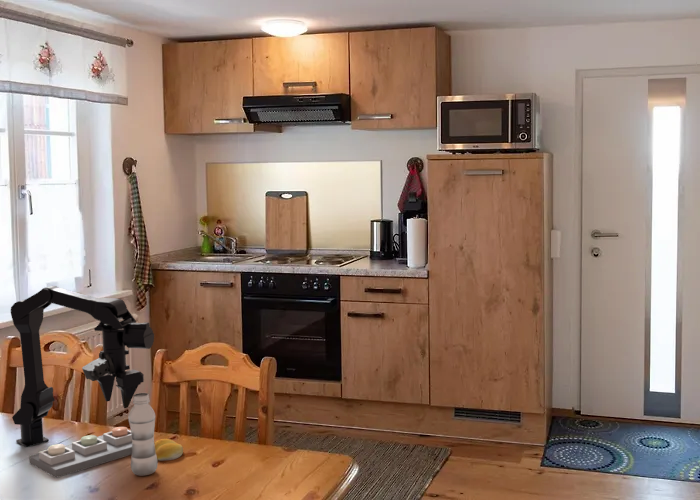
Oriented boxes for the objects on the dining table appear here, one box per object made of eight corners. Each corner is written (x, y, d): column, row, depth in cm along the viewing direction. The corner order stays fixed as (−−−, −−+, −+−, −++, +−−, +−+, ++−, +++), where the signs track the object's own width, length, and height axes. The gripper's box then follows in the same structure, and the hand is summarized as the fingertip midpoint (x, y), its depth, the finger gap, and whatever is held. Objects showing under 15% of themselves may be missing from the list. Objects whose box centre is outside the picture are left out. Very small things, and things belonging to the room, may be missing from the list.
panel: (29, 463, 213) (28, 449, 212) (119, 437, 232) (119, 424, 231) (56, 477, 203) (55, 462, 203) (147, 449, 222) (147, 435, 222)
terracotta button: (109, 435, 223) (109, 429, 223) (122, 431, 226) (122, 425, 226) (117, 438, 221) (117, 432, 221) (130, 435, 224) (130, 429, 223)
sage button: (78, 444, 217) (78, 438, 217) (92, 440, 220) (92, 434, 220) (86, 447, 214) (85, 441, 214) (100, 443, 217) (99, 437, 217)
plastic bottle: (163, 470, 207) (160, 392, 205) (148, 480, 201) (144, 399, 199) (141, 467, 209) (137, 389, 207) (125, 477, 203) (121, 397, 201)
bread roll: (161, 464, 212) (160, 449, 211) (144, 455, 219) (144, 440, 218) (189, 456, 217) (189, 441, 217) (173, 447, 224) (172, 433, 223)
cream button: (45, 453, 211) (45, 447, 210) (60, 449, 213) (60, 443, 213) (53, 457, 208) (52, 450, 208) (68, 453, 211) (67, 446, 210)
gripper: (68, 347, 221) (71, 404, 222) (105, 358, 208) (107, 419, 210) (106, 339, 228) (108, 395, 230) (143, 350, 216) (146, 409, 218)
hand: (116, 404), depth 222 cm, fingers open, 9 cm apart
